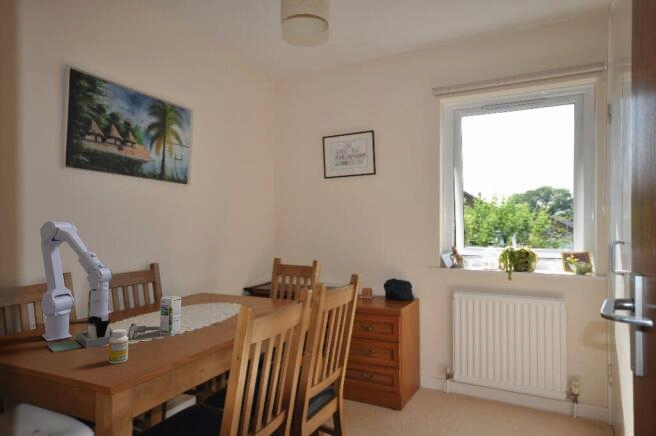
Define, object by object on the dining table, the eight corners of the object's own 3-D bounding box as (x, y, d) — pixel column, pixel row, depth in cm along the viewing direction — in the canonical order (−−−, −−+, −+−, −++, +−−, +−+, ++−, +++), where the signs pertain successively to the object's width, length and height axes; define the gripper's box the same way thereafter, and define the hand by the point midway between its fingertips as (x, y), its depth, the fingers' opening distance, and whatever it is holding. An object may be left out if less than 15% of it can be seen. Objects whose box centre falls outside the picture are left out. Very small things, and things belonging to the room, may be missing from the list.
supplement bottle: (113, 358, 132) (114, 328, 132) (130, 358, 133) (131, 328, 133) (105, 364, 127) (106, 332, 127) (123, 363, 127) (124, 332, 127)
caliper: (130, 341, 152) (130, 324, 152) (128, 340, 152) (128, 324, 153) (171, 328, 171) (171, 313, 171) (169, 328, 171) (170, 313, 171)
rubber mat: (47, 345, 144) (47, 344, 144) (73, 341, 150) (73, 339, 150) (53, 352, 137) (53, 350, 137) (80, 347, 142) (80, 346, 142)
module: (87, 341, 150) (88, 323, 150) (105, 338, 155) (105, 320, 155) (91, 343, 147) (91, 325, 147) (109, 340, 151) (109, 323, 152)
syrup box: (159, 334, 161) (159, 297, 161) (170, 330, 167) (170, 295, 167) (170, 335, 159) (171, 298, 159) (181, 332, 165) (181, 296, 165)
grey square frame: (76, 339, 152) (76, 333, 152) (109, 334, 160) (109, 327, 160) (86, 348, 142) (86, 340, 142) (121, 341, 150) (121, 334, 150)
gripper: (117, 301, 149) (116, 339, 149) (105, 296, 159) (104, 331, 159) (96, 304, 144) (95, 342, 144) (84, 298, 154) (83, 334, 154)
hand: (98, 337), depth 151 cm, fingers closed on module, 4 cm apart
